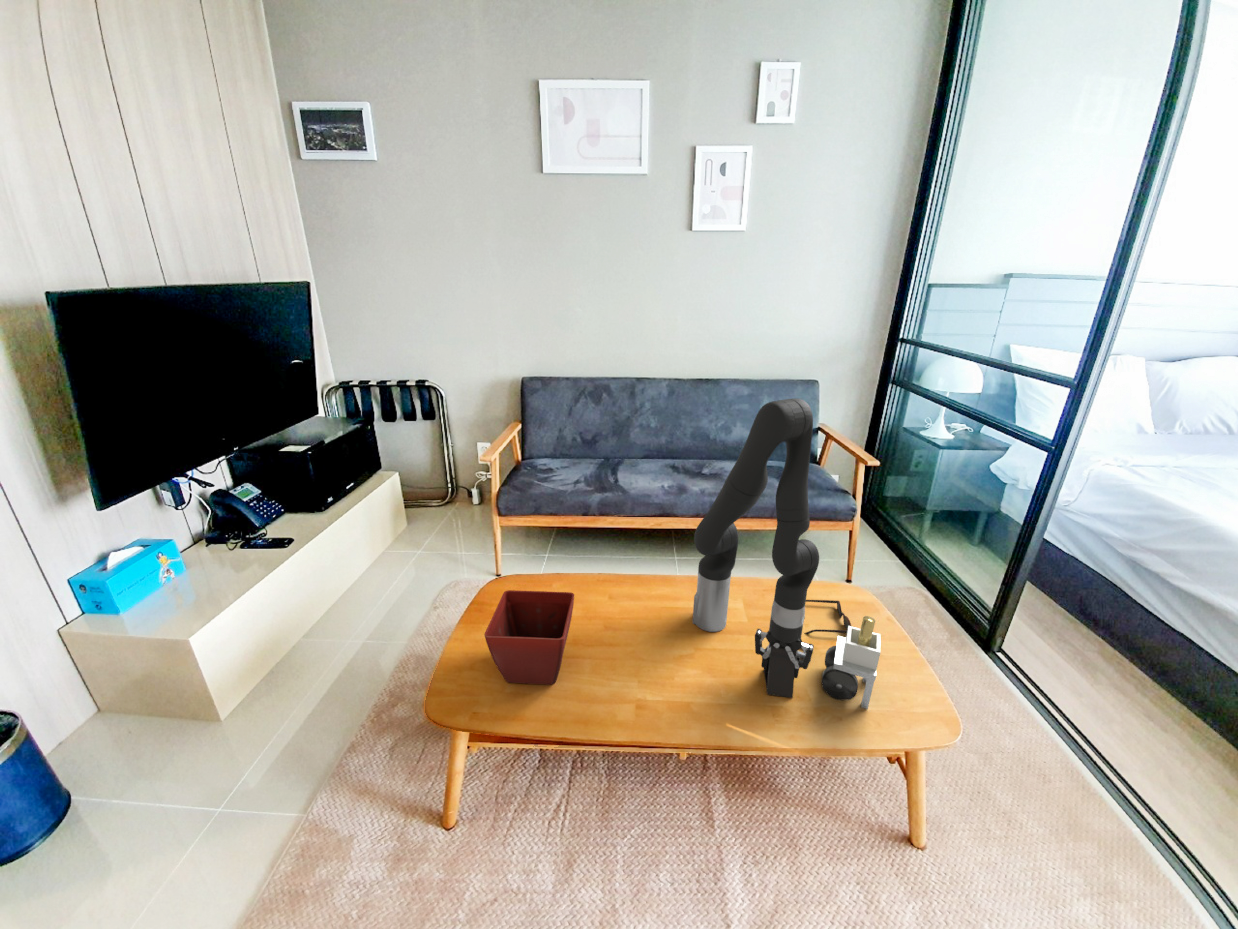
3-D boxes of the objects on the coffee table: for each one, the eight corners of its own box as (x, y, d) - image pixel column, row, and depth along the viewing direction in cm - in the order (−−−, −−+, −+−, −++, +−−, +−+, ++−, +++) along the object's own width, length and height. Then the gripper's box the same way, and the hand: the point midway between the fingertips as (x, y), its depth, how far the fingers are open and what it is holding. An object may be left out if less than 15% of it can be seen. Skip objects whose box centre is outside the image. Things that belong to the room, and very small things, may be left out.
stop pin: (854, 655, 122) (863, 621, 118) (855, 648, 124) (863, 614, 120) (866, 659, 121) (875, 624, 117) (866, 652, 123) (875, 618, 119)
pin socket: (789, 655, 137) (790, 651, 137) (792, 643, 142) (793, 639, 141) (810, 661, 135) (811, 657, 135) (812, 649, 140) (813, 645, 139)
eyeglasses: (852, 640, 144) (855, 626, 142) (799, 637, 145) (801, 622, 143) (836, 609, 158) (839, 595, 156) (787, 605, 159) (789, 592, 157)
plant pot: (508, 640, 142) (504, 589, 136) (576, 643, 141) (574, 591, 136) (488, 692, 124) (482, 636, 119) (565, 696, 124) (563, 639, 118)
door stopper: (792, 698, 123) (799, 659, 119) (767, 695, 124) (772, 656, 120) (787, 672, 132) (793, 634, 127) (763, 669, 132) (768, 631, 128)
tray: (843, 660, 121) (846, 643, 119) (845, 642, 127) (848, 625, 125) (876, 670, 118) (880, 652, 116) (876, 651, 124) (880, 634, 122)
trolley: (819, 694, 125) (825, 660, 121) (823, 665, 134) (829, 633, 130) (868, 710, 120) (876, 675, 116) (869, 679, 129) (876, 646, 126)
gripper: (753, 617, 121) (747, 673, 127) (817, 635, 115) (807, 693, 121) (760, 600, 127) (753, 654, 133) (820, 616, 121) (811, 672, 127)
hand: (779, 672), depth 127 cm, fingers closed on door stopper, 6 cm apart
